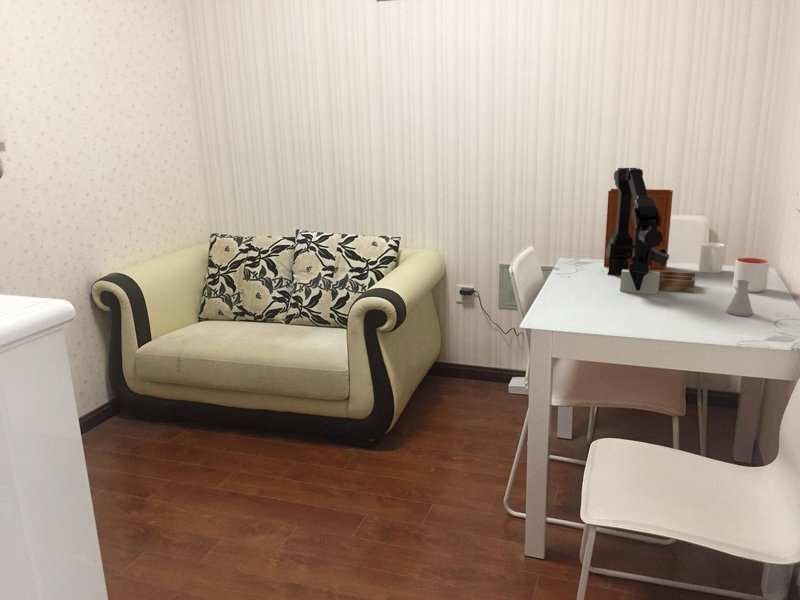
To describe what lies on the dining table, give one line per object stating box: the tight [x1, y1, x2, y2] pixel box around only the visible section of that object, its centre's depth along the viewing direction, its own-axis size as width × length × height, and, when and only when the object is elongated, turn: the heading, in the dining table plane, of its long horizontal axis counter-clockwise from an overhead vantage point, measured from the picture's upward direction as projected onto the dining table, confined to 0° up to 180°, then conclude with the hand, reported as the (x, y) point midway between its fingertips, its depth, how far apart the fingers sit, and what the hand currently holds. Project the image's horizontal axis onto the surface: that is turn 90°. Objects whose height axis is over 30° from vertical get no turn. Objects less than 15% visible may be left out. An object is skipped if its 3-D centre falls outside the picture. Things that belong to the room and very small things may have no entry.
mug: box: [698, 242, 726, 274], centre depth 251 cm, size 12×8×10 cm
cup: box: [732, 257, 770, 293], centre depth 225 cm, size 10×10×10 cm
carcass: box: [649, 270, 697, 294], centre depth 231 cm, size 18×11×4 cm, turn 66°
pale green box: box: [619, 269, 660, 295], centre depth 226 cm, size 12×4×7 cm, turn 66°
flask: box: [726, 280, 754, 317], centre depth 198 cm, size 7×7×10 cm
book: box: [603, 188, 674, 271], centre depth 260 cm, size 23×8×30 cm, turn 67°
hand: (639, 287), depth 226 cm, fingers open, 9 cm apart
